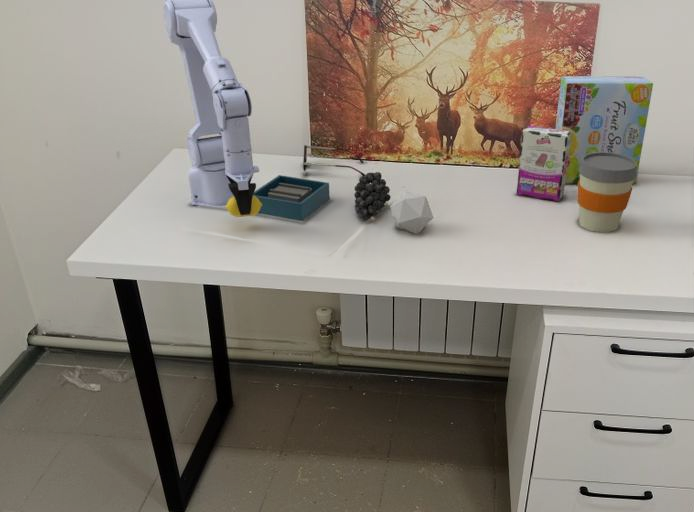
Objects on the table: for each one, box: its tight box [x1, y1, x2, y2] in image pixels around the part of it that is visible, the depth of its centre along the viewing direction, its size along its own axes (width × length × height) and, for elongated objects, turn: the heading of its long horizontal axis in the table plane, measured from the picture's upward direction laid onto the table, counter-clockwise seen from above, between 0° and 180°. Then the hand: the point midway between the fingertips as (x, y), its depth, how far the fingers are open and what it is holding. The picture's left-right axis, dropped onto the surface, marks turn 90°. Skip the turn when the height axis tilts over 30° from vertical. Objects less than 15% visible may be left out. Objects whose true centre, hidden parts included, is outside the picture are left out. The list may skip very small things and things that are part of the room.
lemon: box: [225, 195, 262, 218], centre depth 159 cm, size 8×5×5 cm, turn 106°
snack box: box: [554, 75, 654, 185], centre depth 187 cm, size 22×9×26 cm, turn 92°
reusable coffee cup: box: [577, 152, 637, 233], centre depth 165 cm, size 13×13×15 cm
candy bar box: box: [516, 125, 572, 202], centre depth 179 cm, size 11×5×16 cm, turn 68°
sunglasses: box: [302, 144, 366, 177], centre depth 194 cm, size 14×16×5 cm
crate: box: [253, 174, 331, 222], centre depth 172 cm, size 13×14×5 cm
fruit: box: [354, 171, 391, 221], centre depth 169 cm, size 9×8×15 cm
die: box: [389, 190, 434, 235], centre depth 162 cm, size 8×9×10 cm
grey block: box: [268, 183, 312, 203], centre depth 172 cm, size 8×7×4 cm
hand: (244, 209), depth 159 cm, fingers closed on lemon, 4 cm apart
